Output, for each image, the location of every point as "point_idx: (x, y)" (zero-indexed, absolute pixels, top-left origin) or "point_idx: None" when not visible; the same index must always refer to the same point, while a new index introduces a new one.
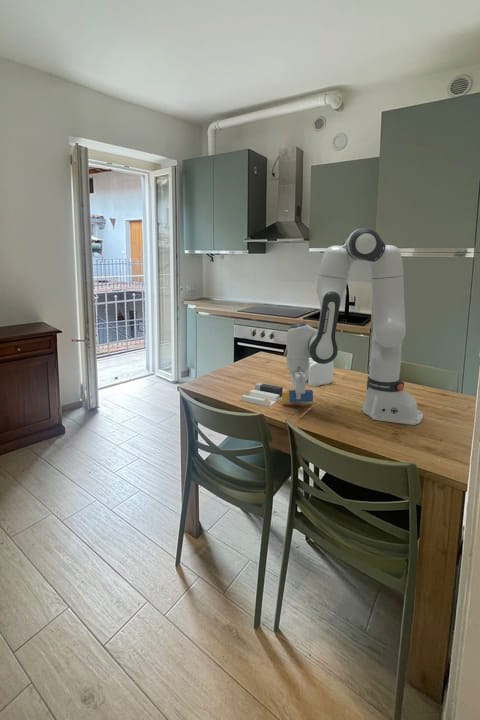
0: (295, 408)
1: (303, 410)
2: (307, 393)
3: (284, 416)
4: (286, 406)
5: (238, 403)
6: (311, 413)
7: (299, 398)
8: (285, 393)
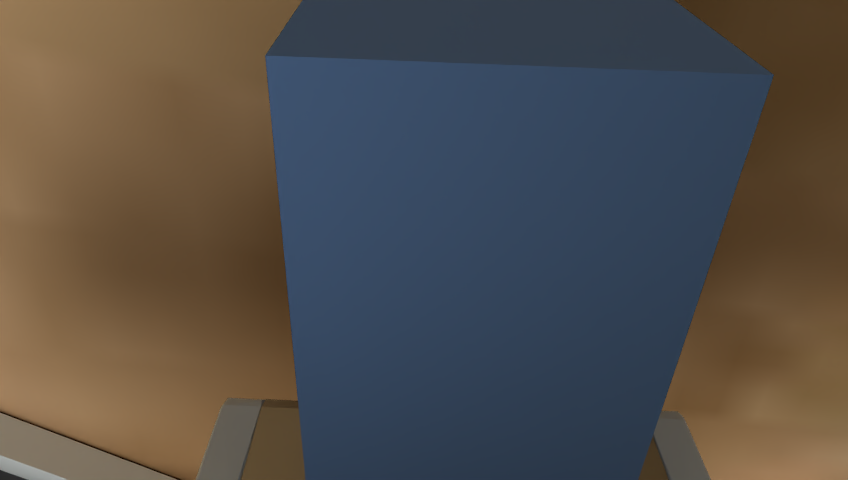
0: None
1: None
2: (664, 315)
3: (777, 462)
4: None
5: None
6: (812, 5)
7: (676, 444)
8: None
